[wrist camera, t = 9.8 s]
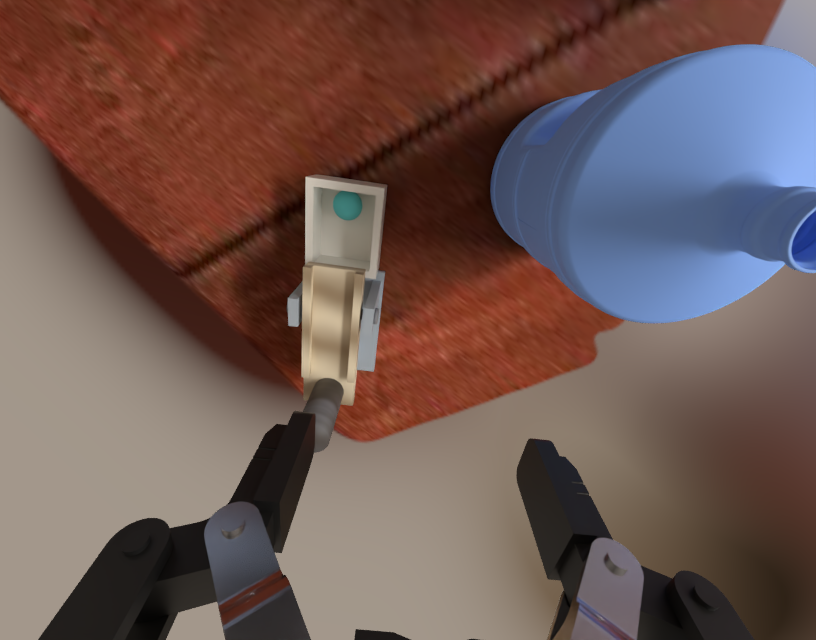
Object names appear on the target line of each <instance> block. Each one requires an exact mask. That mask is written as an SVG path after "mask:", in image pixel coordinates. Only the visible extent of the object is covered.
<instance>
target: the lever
mask: <svg viewBox="0 0 816 640" xmlns="http://www.w3.org/2000/svg"><path fill="white" fill-rule="evenodd" d="M365 272H366V269H361V268H354V267H347V266H339V265H332V264H324V263H317V262H308V263H307V264H306V265H304V266H303V294H302V371H301V377H304V398H303V399H304V400H308V401H307V404H306V406H305V408H304V410H303V412H308V413H315V416H316V421H315V448H314V452H320V451H322V450H324V449H325V448H326V447H327V446H328V444H329V441H330V437H331V434H332V431H333V428H334V424H335V421H336V418H337V414H338V411H339V408H340V404H343V405H352V406H353V402H354V396H355V385H356V373H357V362H358V351H359V340H360V328H361V320H362V315H363V309H362V306H363V295H364V283H365Z"/></svg>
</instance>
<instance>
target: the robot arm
mask: <svg viewBox="0 0 816 640" xmlns="http://www.w3.org/2000/svg"><path fill="white" fill-rule="evenodd" d="M315 421H316V416H315V413H308V412H299V411H294V412H293V414H292V416H291V418H290V420H289V423H288V425H281V424H276V425H275V426H274V427H273V428H272V429H270V430H269V431H268V432H267V433H266V434H265V436H264V437H263V439H262V441H261V443H260V445H259V448H258V449H257V451H256V453H255V455H254V456H253V459H252V460H251V462H250V464H249V466H248V468H247V470H246V472H245V474H244V476H243V477H242V479H241V481H240V483H239V485H238V487H237V489H236V491H235V493H234V495H233V496H232V498H231V500H230V502H229V503H228V504H227V505H226V506H224V507H222V508H221V509H219V510H218V511H217V512H216V513H215V514H214V515H213V516H212V517H211V518H209V519H207V520H204V521H201V522H197V523H193V524H188V525H183V526H179V527H174V528H169V526H168V524H167V523H166V522H165V521H163V520H161V519H158V518H147V519H142V520H139V521H136V522H134V523H131V524H129V525H128V526H126V527H125V528H123V529H121V530H120V531H119V532H118V533H116V534H115V535H114V536H113V537H112V538H111V539H110V540H109V542H108V543H107V544H106V546H105V547H104V548H103V550H102V551H101V553H100V554H99V555H98V557H97V558H96V560H95V561H94V562H93V564H92V565H91V567H90V568H89V569H88V571H87V573H86V574H85V575H84V577H83V578H82V579H81V581H80V582H79V583H78V585H77V586H76V588H75V589H74V590H73V592H72V593H71V595H70V596H69V597H68V599H67V600H66V601H65V603H64V604H63V606H62V607H61V609H60V610H59V612H58V613H57V614H56V615H55V617H54V619H53V620H52V621H51V622H50V624H49V625H48V627H47V628H46V629H45V631H44V632H43V634H42V635H41V637H40V638H39V639H38V640H166V638H167V636H168V633H169V631H170V629H171V627H172V625H173V623H174V620H175V618H176V616H177V614H178V612H181V611H185V610H188V609H192V608H195V607H199V606H203V605H206V604H210V603H213V602H217V603H218V607H219V612H220V617H221V622H222V626H223V631H224V636H225V640H311V639H310V636H309V633H308V631H307V628H306V625H305V623H304V620H303V617H302V615H301V612H300V609H299V607H298V604H297V601H296V598H295V596H294V593H293V590H292V588H291V585H290V583H289V580H288V579H287V577H286V576H285V575H283V574H282V572H281V570H280V567H279V564H278V561H277V559H276V556H275V553H274V552H276V553H282V550H283V547H284V544H285V541H286V538H287V535H288V532H289V529H290V526H291V523H292V520H293V517H294V514H295V511H296V508H297V505H298V501H299V498H300V496H301V492H302V489H303V486H304V483H305V480H306V477H307V474H308V471H309V468H310V465H311V462H312V458H313V454H314V448H315ZM517 483H518V486H519V490H520V492H521V496H522V499H523V502H524V505H525V509H526V511H527V515H528V518H529V521H530V524H531V527H532V531H533V534H534V537H535V540H536V543H537V547H538V550H539V552H540V556H541V559H542V562H543V566H544V569H545V572H546V575H547V578H548V579H551V580H561V582H562V585H563V588H564V590H563V592H562V594H561V597H560V600H559V603H558V606H557V609H556V612H555V616H554V619H553V622H552V625H551V628H550V631H549V634H548V637H547V640H754V639H753V637H752V636H751V634H750V633H749V631H748V630H747V628H746V627H745V625H744V624H743V622H742V621H741V619H740V618H739V616H738V615H737V613H736V611H735V610H734V608H733V607H732V605H731V604H730V602H729V601H728V600H727V598H726V597H725V596H724V595H723V593H722V592H721V591H720V590H719V589H718V588H717V587H716V586H714V585H713V584H712V583H711V582H710V581H708V580H707V579H705V578H703V577H702V576H700V575H698V574H696V573H694V572H690V571H680V572H678V573H677V574H676V575H675V576H674V578H673V579H672V578H669V577H667V576H665V575H662V574H660V573H657V572H655V571H652V570H650V569H648V568H645V567H643V566H641V565H640V564H639V562H638V561H637V559H636V558H635V557H634V556H633V554H632V553H631V552H630V551H629V550H628V549H627V548H625V547H624V546H623V545H621V544H620V543H618V542H616V541H614V540H613V539H612V537H611V535H610V533H609V531H608V529H607V527H606V525H605V523H604V522H603V520H602V518H601V516H600V514H599V512H598V510H597V508H596V506H595V504H594V502H593V500H592V498H591V497H590V496H589V493H588V491H587V489H586V487H585V485H583V481H582V479H581V477H580V475H579V474H578V471H577V469H576V468H575V467H574V466H573V465H572V464H571V463H570V462H569V461H568V460H567V459H566V457H561V456H559V454H558V452H557V450H556V448H555V446H554V444H553V443H552V442H551V441H549V440H540V439H529V440H528V441H527V444H526V446H525V449H524V451H523V454H522V456H521V459H520V462H519V464H518V467H517ZM355 640H410V639H408V638H405V637H403V636H401V635H398V634H396V633H393V632H381V631H370V630H358V629H356V632H355ZM469 640H478V639H469Z"/></svg>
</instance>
